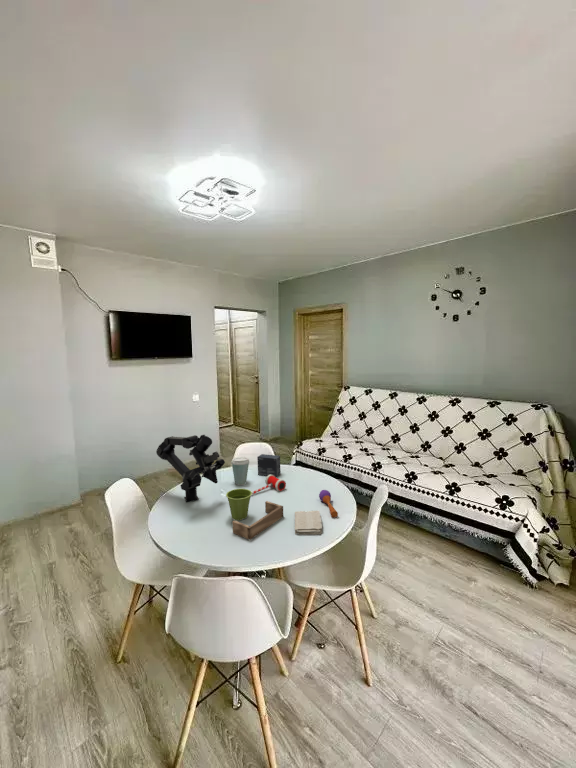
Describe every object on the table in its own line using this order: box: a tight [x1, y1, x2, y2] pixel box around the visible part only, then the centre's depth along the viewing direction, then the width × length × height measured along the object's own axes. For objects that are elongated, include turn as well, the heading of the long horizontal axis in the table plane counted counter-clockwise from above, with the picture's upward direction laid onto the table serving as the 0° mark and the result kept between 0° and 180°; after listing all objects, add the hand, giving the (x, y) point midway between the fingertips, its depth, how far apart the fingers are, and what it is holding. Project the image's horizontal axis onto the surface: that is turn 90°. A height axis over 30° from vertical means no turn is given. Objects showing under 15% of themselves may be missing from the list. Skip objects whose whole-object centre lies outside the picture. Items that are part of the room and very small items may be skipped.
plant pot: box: [225, 488, 253, 521], centre depth 150 cm, size 12×12×11 cm
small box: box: [256, 453, 281, 478], centre depth 203 cm, size 13×7×12 cm, turn 69°
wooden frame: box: [231, 500, 284, 541], centre depth 143 cm, size 10×23×5 cm, turn 145°
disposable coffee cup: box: [231, 456, 250, 486], centre depth 190 cm, size 11×11×15 cm
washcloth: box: [294, 510, 323, 536], centre depth 143 cm, size 12×18×3 cm, turn 0°
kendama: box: [318, 489, 339, 519], centre depth 158 cm, size 6×6×20 cm
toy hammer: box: [251, 474, 287, 496], centre depth 178 cm, size 23×12×6 cm, turn 128°
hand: (216, 482), depth 158 cm, fingers closed
